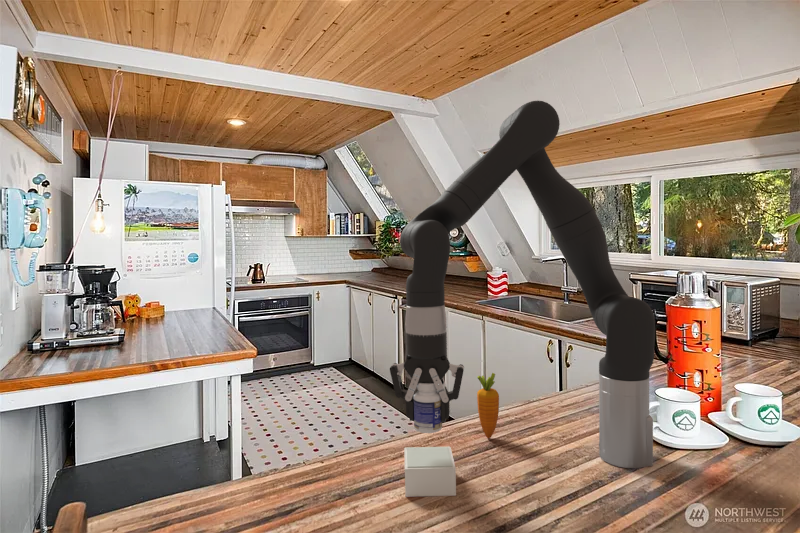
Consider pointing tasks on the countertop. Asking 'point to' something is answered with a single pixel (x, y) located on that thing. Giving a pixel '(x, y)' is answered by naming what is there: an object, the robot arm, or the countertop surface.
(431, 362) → the robot arm
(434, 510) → the countertop surface
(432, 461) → the pedestal
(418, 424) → the pill bottle
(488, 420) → the carrot
